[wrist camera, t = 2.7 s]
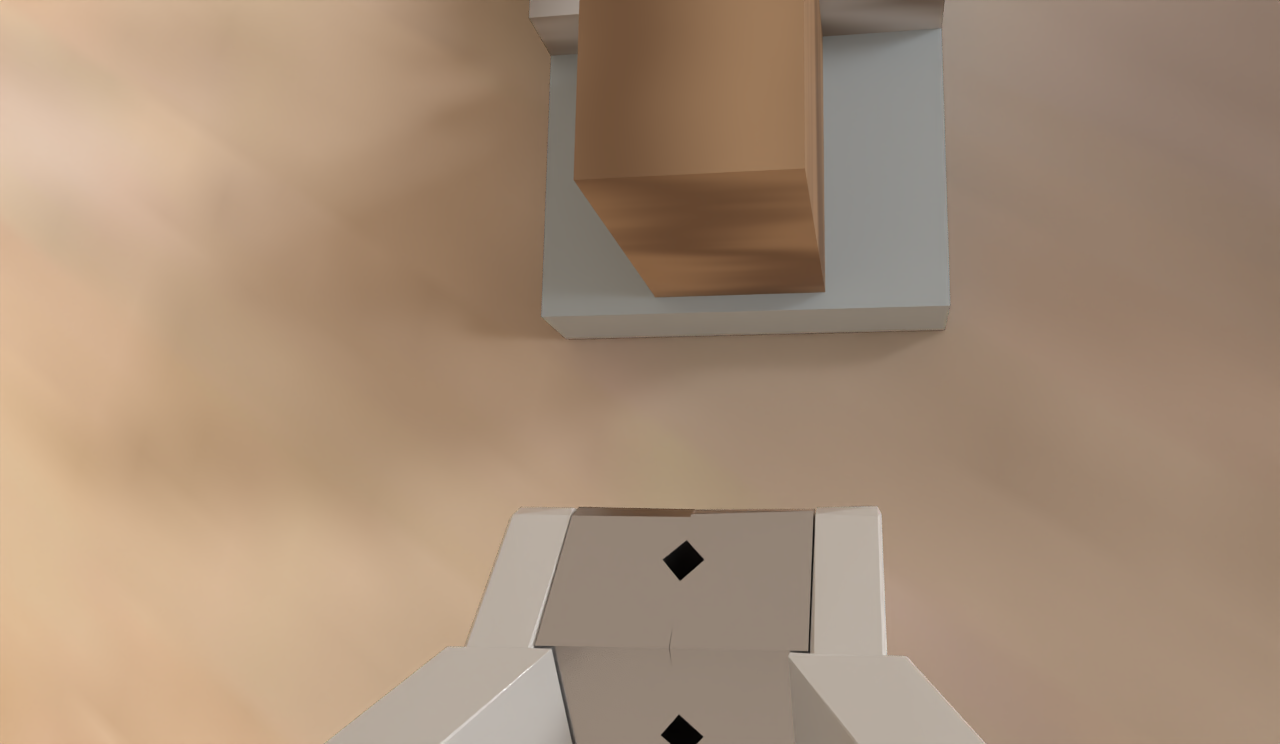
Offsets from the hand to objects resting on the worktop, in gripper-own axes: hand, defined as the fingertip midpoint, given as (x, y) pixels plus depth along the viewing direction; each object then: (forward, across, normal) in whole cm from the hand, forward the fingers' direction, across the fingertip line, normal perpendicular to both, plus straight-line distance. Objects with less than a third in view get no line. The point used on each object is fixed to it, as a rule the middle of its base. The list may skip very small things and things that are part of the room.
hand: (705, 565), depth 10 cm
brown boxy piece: (+26, +2, +8) cm, 27 cm away
